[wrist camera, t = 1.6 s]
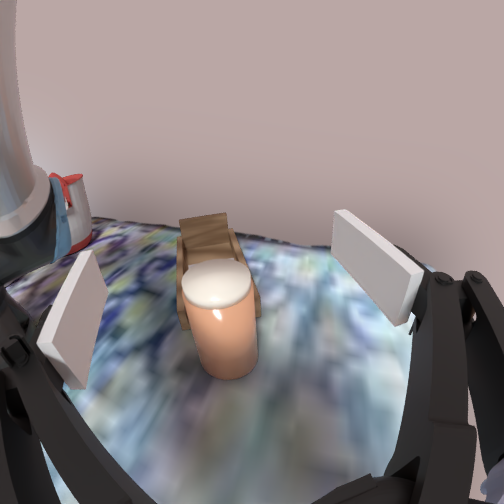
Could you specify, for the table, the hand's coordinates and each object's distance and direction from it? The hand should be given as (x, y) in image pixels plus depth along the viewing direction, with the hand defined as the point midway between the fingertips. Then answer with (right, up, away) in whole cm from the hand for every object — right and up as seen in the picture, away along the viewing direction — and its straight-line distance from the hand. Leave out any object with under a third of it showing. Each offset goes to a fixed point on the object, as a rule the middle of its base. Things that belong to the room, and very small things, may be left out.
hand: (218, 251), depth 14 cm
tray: (-5, -5, +33) cm, 33 cm away
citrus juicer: (-44, +1, +47) cm, 64 cm away
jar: (-1, -13, +18) cm, 22 cm away
